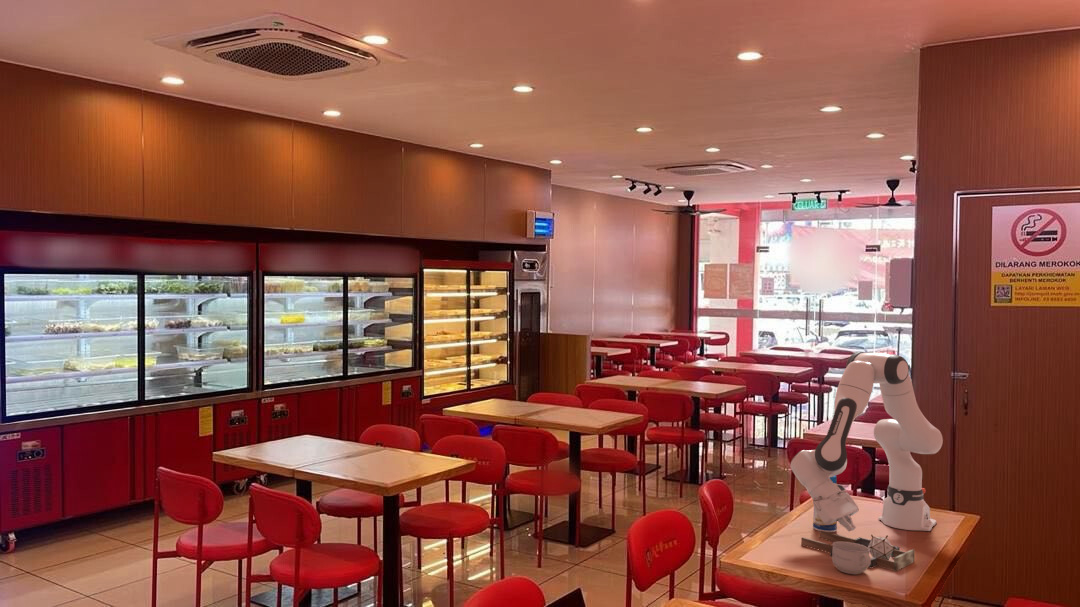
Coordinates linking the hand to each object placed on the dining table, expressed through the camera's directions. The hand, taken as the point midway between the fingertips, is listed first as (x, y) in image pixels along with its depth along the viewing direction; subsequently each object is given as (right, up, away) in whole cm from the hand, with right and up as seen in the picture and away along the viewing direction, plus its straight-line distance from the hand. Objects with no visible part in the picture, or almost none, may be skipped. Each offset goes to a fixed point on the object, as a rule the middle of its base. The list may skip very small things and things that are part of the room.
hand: (852, 529), depth 266 cm
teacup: (-8, -8, -20) cm, 23 cm away
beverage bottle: (0, -7, +25) cm, 26 cm away
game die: (+6, -8, -8) cm, 13 cm away
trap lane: (+1, -7, -1) cm, 8 cm away
